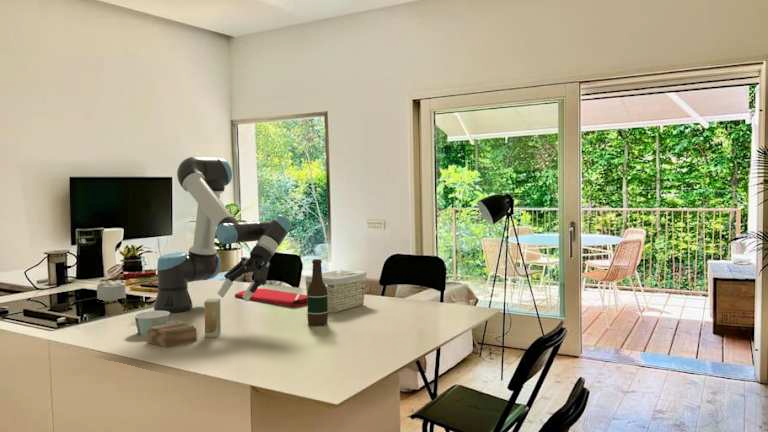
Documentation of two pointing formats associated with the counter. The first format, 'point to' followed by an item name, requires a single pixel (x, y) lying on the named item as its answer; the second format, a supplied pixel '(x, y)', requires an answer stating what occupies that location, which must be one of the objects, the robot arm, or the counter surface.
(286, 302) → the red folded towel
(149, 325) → the food container
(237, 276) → the robot arm
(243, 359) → the counter surface
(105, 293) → the lumpy-topped squat cylinder
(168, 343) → the walnut base
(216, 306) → the skincare box
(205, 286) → the counter surface
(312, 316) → the beer bottle
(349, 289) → the storage basket
